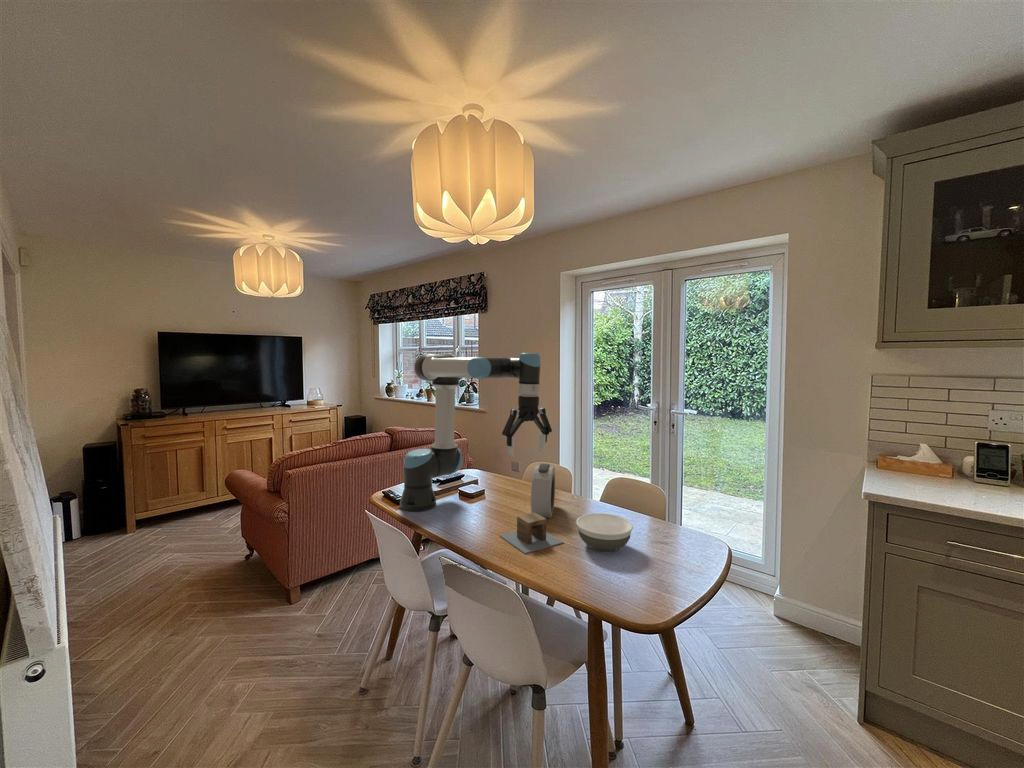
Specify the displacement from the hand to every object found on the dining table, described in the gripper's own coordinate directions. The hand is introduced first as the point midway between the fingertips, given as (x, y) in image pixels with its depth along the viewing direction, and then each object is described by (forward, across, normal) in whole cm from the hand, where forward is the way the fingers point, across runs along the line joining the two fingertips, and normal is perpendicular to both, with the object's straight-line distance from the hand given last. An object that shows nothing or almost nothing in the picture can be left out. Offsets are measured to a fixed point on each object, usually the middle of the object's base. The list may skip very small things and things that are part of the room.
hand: (526, 453), depth 156 cm
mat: (+28, -3, -9) cm, 30 cm away
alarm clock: (+29, +16, +11) cm, 35 cm away
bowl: (+28, +15, -26) cm, 41 cm away
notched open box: (+28, -3, -9) cm, 30 cm away
